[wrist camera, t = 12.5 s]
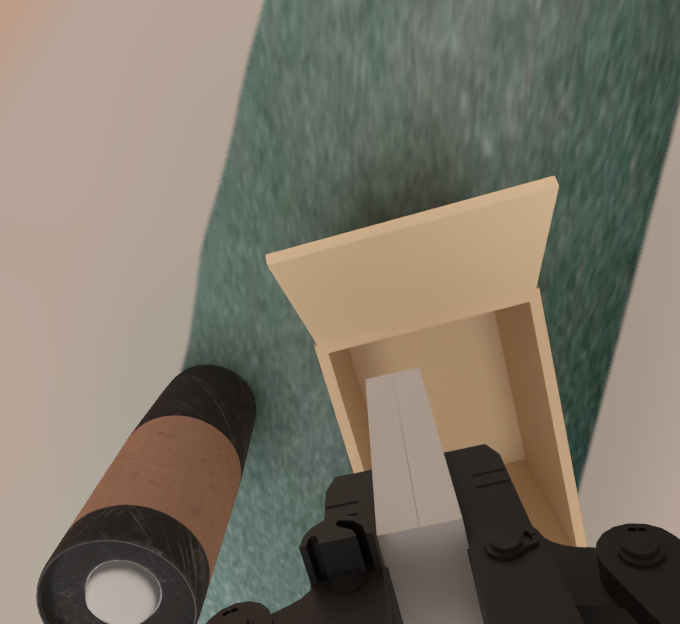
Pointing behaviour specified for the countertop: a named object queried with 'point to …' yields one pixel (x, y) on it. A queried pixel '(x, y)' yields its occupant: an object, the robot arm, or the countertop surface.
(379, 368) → the carton
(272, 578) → the countertop surface
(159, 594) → the travel mug
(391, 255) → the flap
